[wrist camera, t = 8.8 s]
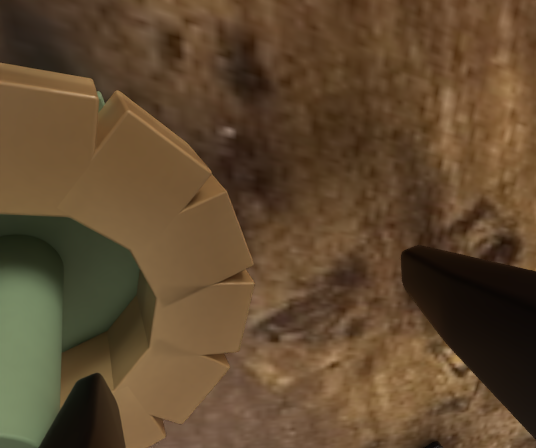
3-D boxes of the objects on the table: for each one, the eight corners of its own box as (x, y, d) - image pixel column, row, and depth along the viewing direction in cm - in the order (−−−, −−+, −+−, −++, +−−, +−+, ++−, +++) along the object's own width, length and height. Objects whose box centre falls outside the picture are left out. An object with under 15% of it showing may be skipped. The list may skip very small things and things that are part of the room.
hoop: (262, 319, 17) (293, 368, 15) (-43, 477, 15) (-64, 564, 12) (137, -2, 11) (154, -5, 9) (-412, 182, 9) (-588, 244, 6)
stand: (182, 301, 16) (258, 499, 10) (-46, 395, 15) (-143, 719, 8) (100, 90, 12) (132, 183, 6) (-230, 182, 11) (-743, 477, 4)
